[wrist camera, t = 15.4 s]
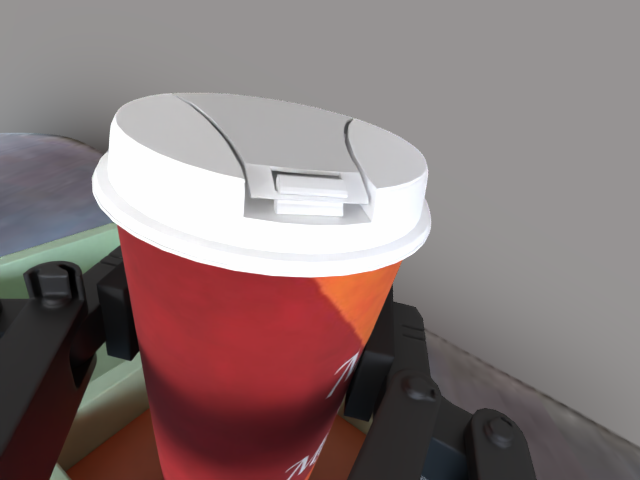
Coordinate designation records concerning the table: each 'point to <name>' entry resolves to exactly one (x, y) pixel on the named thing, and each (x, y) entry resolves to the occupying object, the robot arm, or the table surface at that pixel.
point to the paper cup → (254, 268)
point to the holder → (134, 390)
